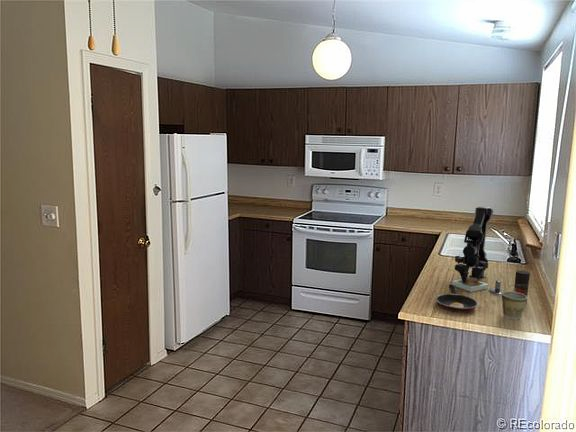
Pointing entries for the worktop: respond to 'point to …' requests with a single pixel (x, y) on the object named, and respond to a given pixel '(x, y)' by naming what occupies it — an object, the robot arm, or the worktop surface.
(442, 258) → the worktop surface
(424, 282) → the worktop surface
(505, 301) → the ceramic cup
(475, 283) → the ring
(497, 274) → the worktop surface
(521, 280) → the deodorant
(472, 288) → the tray
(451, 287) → the frying pan
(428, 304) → the worktop surface
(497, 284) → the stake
